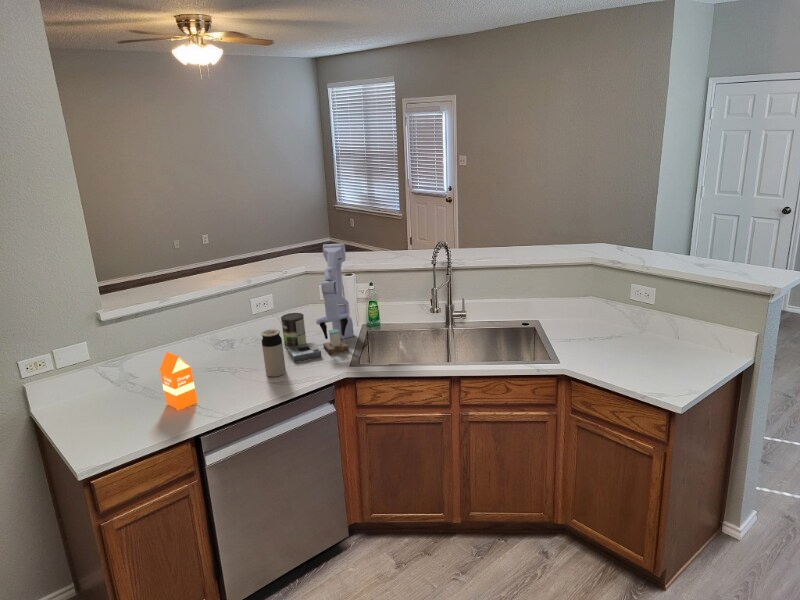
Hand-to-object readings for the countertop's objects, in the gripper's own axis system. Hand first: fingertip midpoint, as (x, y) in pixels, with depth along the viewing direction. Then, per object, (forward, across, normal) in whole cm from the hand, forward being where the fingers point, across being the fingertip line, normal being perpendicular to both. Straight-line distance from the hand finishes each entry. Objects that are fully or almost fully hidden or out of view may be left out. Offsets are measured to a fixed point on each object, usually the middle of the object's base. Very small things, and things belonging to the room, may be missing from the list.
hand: (334, 336), depth 254 cm
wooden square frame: (+6, 0, 0) cm, 6 cm away
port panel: (+6, -14, +1) cm, 15 cm away
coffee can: (+6, -15, +16) cm, 23 cm away
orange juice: (+7, -66, -22) cm, 70 cm away
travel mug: (+7, -29, -12) cm, 32 cm away
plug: (+6, 0, 0) cm, 6 cm away
